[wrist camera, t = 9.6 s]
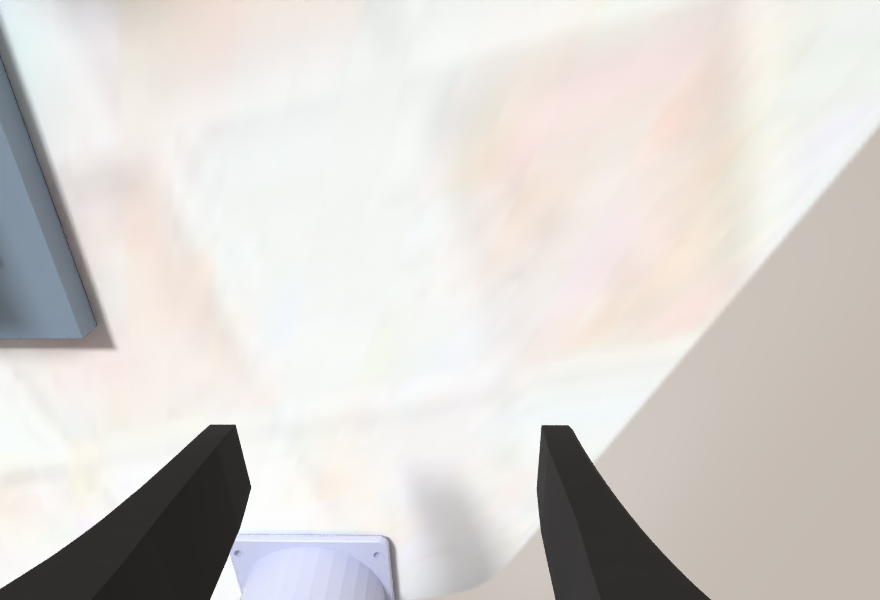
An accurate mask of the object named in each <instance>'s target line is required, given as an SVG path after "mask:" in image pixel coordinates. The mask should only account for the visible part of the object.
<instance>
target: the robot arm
mask: <svg viewBox="0 0 880 600" xmlns="http://www.w3.org/2000/svg"><path fill="white" fill-rule="evenodd" d="M250 490H251V485H250V481H249V477H248V473H247V469H246V465H245V461H244V457H243V453H242V449H241V445H240V441H239V437H238V433H237V429H236V425H209V426H208V427H207V428H206V429H205V430H204V431H202V432H201V433H200V434H199V435H198V436H197V437H196V438H195V439H194V440H193V441H192V442H190V443H189V444H188V445H187V446H186V447H185V448H184V449H183V450H182V451H181V452H180V453H179V454H178V455H176V456H175V457H174V458H173V459H172V460H171V461H170V462H169V463H168V464H167V465H165V466H164V467H163V468H162V469H161V470H160V471H159V472H158V473H157V474H155V475H154V476H153V477H152V478H151V479H150V480H149V481H148V482H147V483H145V484H144V485H143V486H142V487H141V488H140V489H138V490H137V491H136V492H135V493H134V494H132V495H131V496H130V497H129V498H128V499H126V500H125V501H124V502H123V503H122V504H120V505H119V506H118V507H117V508H116V509H114V510H113V511H112V512H111V513H109V514H108V515H107V516H106V517H105V518H103V519H102V520H101V521H100V522H98V523H97V524H96V525H94V526H93V527H92V528H90V529H89V530H88V531H86V532H85V533H84V534H82V535H81V536H80V537H78V538H77V539H76V540H74V541H73V542H71V543H70V544H69V545H67V546H66V547H64V548H63V549H61V550H60V551H59V552H57V553H56V554H54V555H53V556H51V557H50V558H48V559H47V560H45V561H44V562H42V563H41V564H39V565H37V566H36V567H34V568H33V569H31V570H30V571H28V572H26V573H25V574H23V575H22V576H20V577H19V578H17V579H15V580H14V581H12V582H11V583H9V584H7V585H6V586H4V587H3V588H1V589H0V600H210V598H211V596H212V594H213V591H214V589H215V587H216V584H217V582H218V580H219V577H220V575H221V572H222V570H223V568H224V565H225V563H226V561H227V558H228V556H229V554H230V556H231V560H232V563H233V566H234V570H235V573H236V576H237V580H238V583H239V586H240V590H241V593H242V595H241V597H240V600H394V590H393V580H392V570H391V560H390V549H389V542H388V540H387V539H386V538H385V537H382V536H360V535H257V534H238V532H239V529H240V526H241V523H242V519H243V516H244V512H245V509H246V505H247V501H248V498H249V494H250ZM537 497H538V508H539V517H540V526H541V534H542V538H543V543H544V548H545V553H546V557H547V562H548V567H549V571H550V576H551V581H552V585H553V590H554V594H555V599H556V600H711V599H709V598H708V597H707V596H706V595H705V594H704V593H703V592H702V591H700V590H699V589H698V588H697V587H696V586H695V585H694V584H693V583H692V582H691V581H690V580H689V579H688V578H687V577H686V576H685V575H684V574H683V573H682V572H681V571H680V570H679V569H678V568H677V567H676V566H675V565H674V564H673V563H672V562H671V561H670V560H669V559H668V558H667V557H666V556H665V555H664V554H663V553H662V552H661V551H660V549H659V548H658V547H657V546H656V545H655V544H654V543H653V542H652V541H651V540H650V539H649V537H648V536H647V535H646V534H645V533H644V532H643V530H642V529H641V528H640V527H639V525H638V524H637V523H636V522H635V520H634V519H633V518H632V517H631V516H630V515H629V513H628V512H627V511H626V509H625V508H624V507H623V505H622V504H621V503H620V502H619V500H618V499H617V498H616V496H615V495H614V493H613V492H612V491H611V489H610V488H609V487H608V485H607V484H606V482H605V481H604V480H603V478H602V477H601V475H600V474H599V472H598V471H597V469H596V468H595V466H594V465H593V463H592V462H591V460H590V458H589V457H588V455H587V454H586V452H585V451H584V449H583V447H582V446H581V444H580V442H579V440H578V439H577V437H576V435H575V433H574V431H573V430H572V429H571V428H570V427H569V426H568V425H542V427H541V440H540V453H539V466H538V479H537Z"/></svg>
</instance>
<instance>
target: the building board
mask: <svg viewBox="0 0 880 600" xmlns="http://www.w3.org/2000/svg"><path fill="white" fill-rule="evenodd" d="M96 326H97V324H96V321H95V319H94V316H93V313H92V310H91V308H90V305H89V302H88V299H87V296H86V294H85V291H84V288H83V285H82V283H81V280H80V277H79V274H78V271H77V269H76V266H75V263H74V260H73V258H72V255H71V252H70V249H69V246H68V244H67V241H66V238H65V235H64V233H63V230H62V227H61V224H60V222H59V219H58V216H57V213H56V210H55V208H54V205H53V202H52V199H51V197H50V194H49V191H48V188H47V185H46V183H45V180H44V177H43V174H42V172H41V169H40V166H39V163H38V160H37V158H36V155H35V152H34V149H33V147H32V144H31V141H30V138H29V135H28V133H27V130H26V127H25V124H24V122H23V119H22V116H21V113H20V111H19V108H18V105H17V102H16V99H15V97H14V94H13V91H12V88H11V86H10V83H9V80H8V77H7V74H6V72H5V69H4V66H3V63H2V61H1V58H0V339H83V338H84V337H85V336H86V335H87V334H88V333H89V332H90V331H91V330H92V329H93V328H95V327H96Z"/></svg>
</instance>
